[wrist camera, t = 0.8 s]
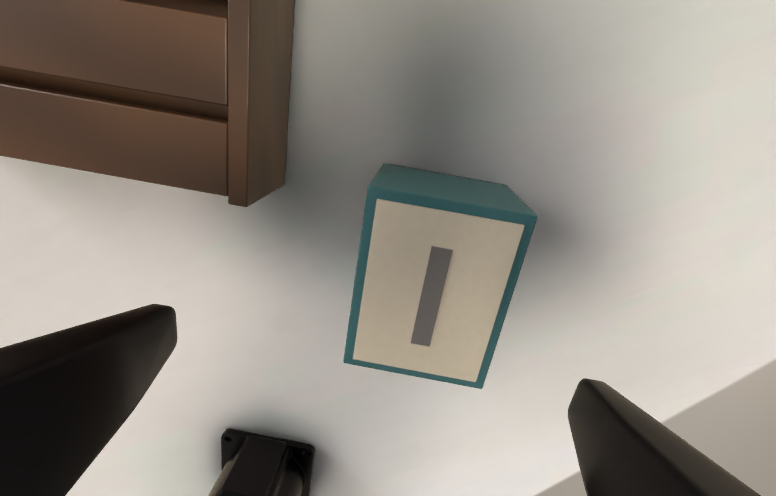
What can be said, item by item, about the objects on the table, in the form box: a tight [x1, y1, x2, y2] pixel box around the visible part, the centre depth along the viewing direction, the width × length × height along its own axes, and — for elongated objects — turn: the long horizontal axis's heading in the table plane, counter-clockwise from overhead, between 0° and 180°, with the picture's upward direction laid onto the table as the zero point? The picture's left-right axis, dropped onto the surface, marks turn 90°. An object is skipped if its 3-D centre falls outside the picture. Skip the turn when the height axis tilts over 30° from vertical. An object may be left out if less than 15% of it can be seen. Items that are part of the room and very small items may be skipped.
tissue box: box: [344, 163, 537, 389], centre depth 17 cm, size 8×6×6 cm
